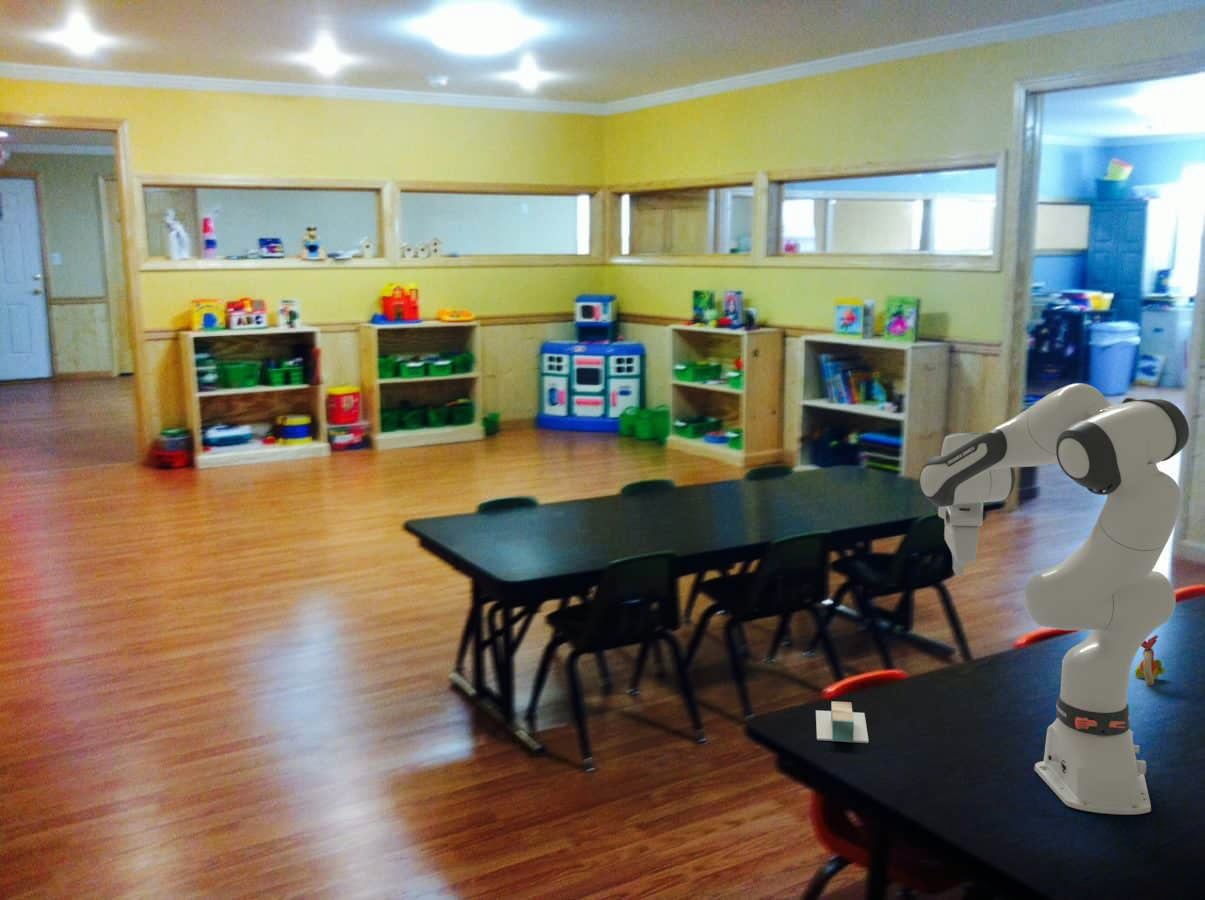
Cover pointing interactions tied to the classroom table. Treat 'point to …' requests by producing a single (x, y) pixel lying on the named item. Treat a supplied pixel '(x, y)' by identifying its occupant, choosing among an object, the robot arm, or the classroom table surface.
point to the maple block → (842, 721)
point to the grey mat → (826, 728)
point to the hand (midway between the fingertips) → (958, 573)
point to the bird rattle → (1149, 663)
